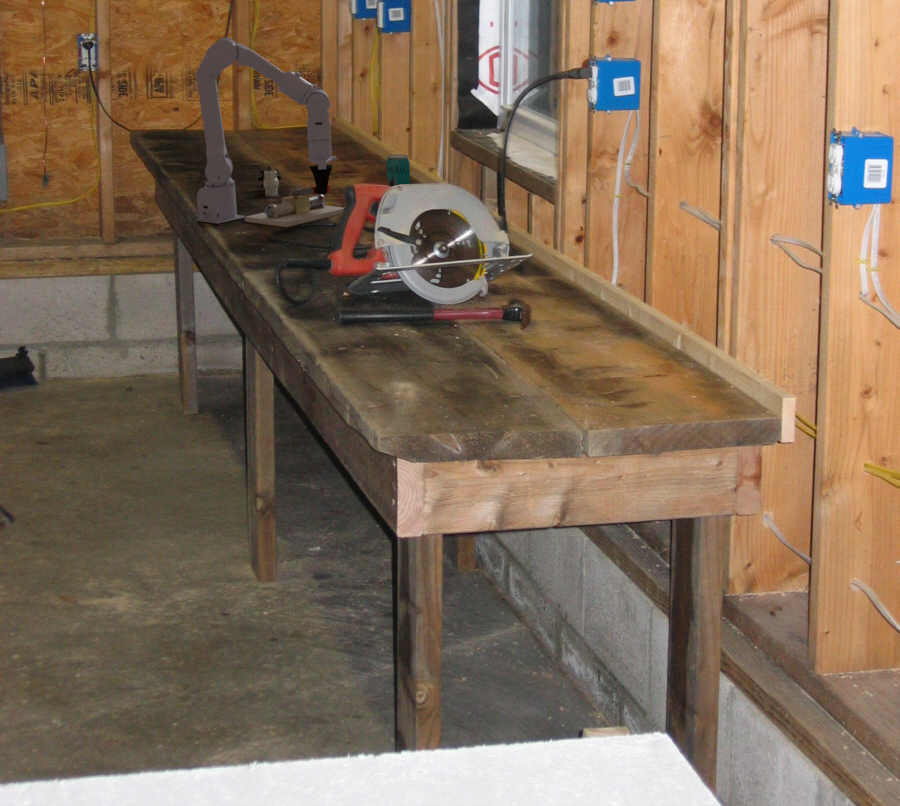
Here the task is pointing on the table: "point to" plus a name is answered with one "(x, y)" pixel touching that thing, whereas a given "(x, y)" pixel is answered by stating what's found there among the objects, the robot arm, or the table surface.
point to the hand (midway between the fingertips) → (322, 194)
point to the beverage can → (398, 170)
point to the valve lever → (306, 191)
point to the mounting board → (295, 217)
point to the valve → (270, 181)
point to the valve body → (295, 205)
